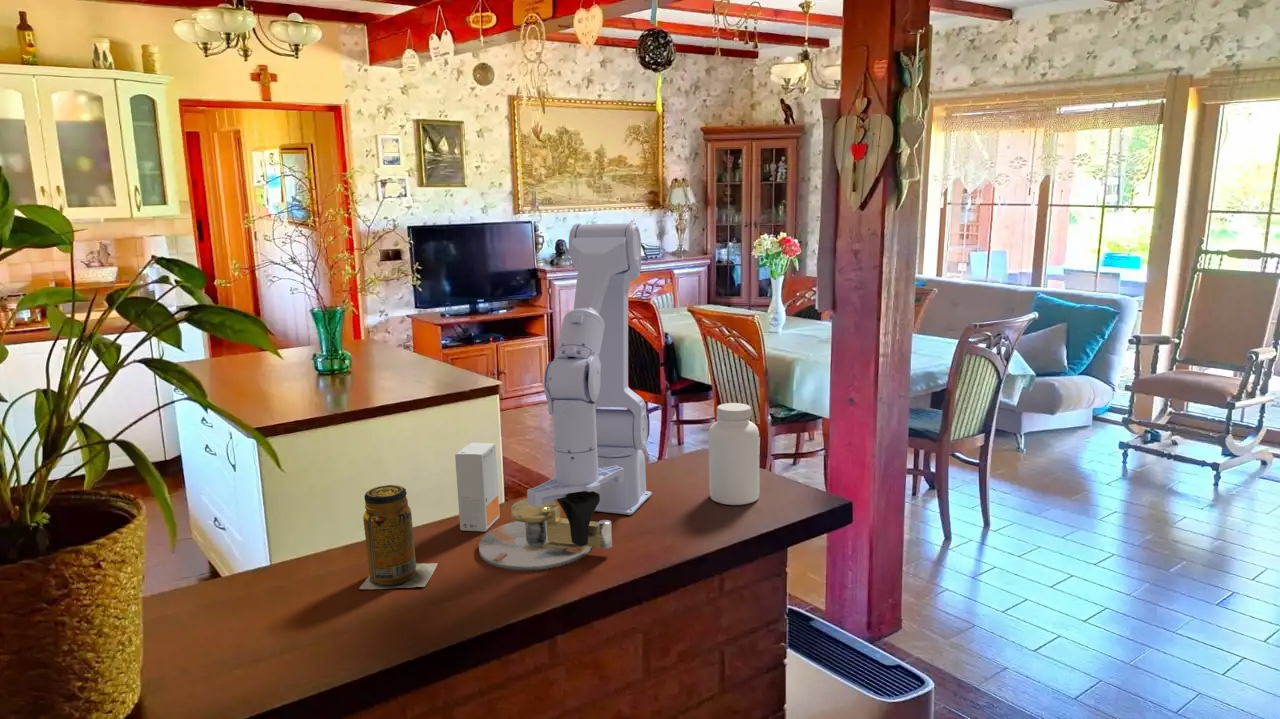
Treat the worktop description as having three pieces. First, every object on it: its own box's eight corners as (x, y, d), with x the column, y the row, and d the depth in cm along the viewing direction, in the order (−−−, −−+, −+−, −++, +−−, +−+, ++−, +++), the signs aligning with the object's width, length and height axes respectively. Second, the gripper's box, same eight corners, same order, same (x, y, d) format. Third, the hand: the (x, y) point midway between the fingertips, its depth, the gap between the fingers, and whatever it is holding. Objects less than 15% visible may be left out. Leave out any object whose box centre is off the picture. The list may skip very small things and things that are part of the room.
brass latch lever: (505, 543, 121) (502, 511, 120) (526, 526, 127) (524, 495, 126) (602, 556, 116) (601, 522, 115) (620, 537, 122) (618, 505, 121)
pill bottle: (761, 490, 142) (761, 400, 139) (756, 508, 135) (756, 414, 132) (713, 487, 144) (711, 399, 141) (706, 505, 136) (704, 412, 133)
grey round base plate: (513, 519, 133) (512, 491, 132) (610, 530, 128) (609, 501, 127) (457, 562, 119) (454, 531, 118) (563, 577, 113) (561, 544, 112)
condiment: (376, 566, 119) (367, 482, 116) (438, 564, 119) (431, 480, 116) (358, 591, 112) (349, 502, 109) (424, 589, 111) (416, 500, 109)
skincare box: (486, 532, 129) (481, 454, 126) (459, 531, 130) (453, 454, 127) (501, 517, 135) (496, 442, 132) (475, 515, 135) (469, 441, 133)
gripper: (546, 465, 108) (551, 568, 111) (636, 441, 117) (640, 537, 120) (516, 453, 114) (522, 551, 116) (605, 431, 122) (608, 523, 125)
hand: (580, 543), depth 118 cm, fingers closed
